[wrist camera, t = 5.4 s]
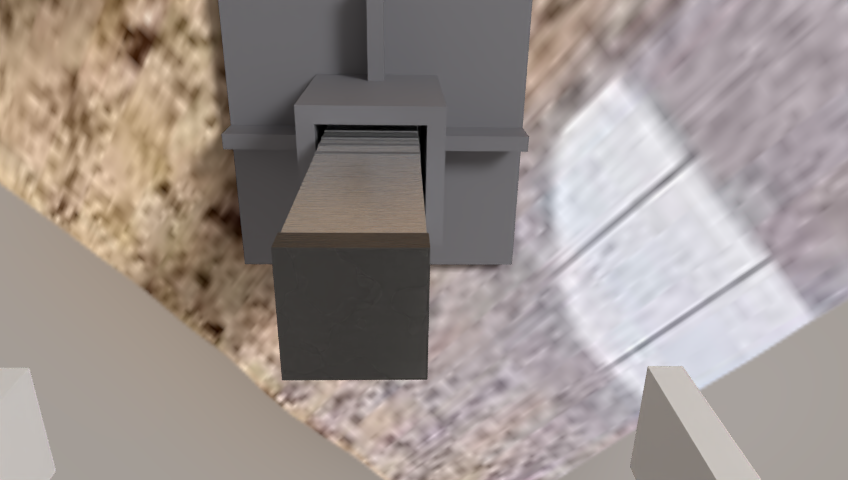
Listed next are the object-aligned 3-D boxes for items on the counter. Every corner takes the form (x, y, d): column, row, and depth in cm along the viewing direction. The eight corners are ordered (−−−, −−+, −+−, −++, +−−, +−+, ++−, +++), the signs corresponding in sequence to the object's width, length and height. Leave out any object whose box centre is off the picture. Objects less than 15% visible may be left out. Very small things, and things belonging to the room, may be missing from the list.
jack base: (248, 257, 40) (208, 335, 32) (220, -26, 33) (161, -21, 25) (509, 257, 40) (537, 334, 32) (530, -21, 34) (571, -14, 26)
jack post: (341, 171, 36) (282, 380, 18) (338, 97, 35) (270, 247, 17) (414, 172, 36) (427, 379, 19) (415, 98, 35) (430, 247, 17)
